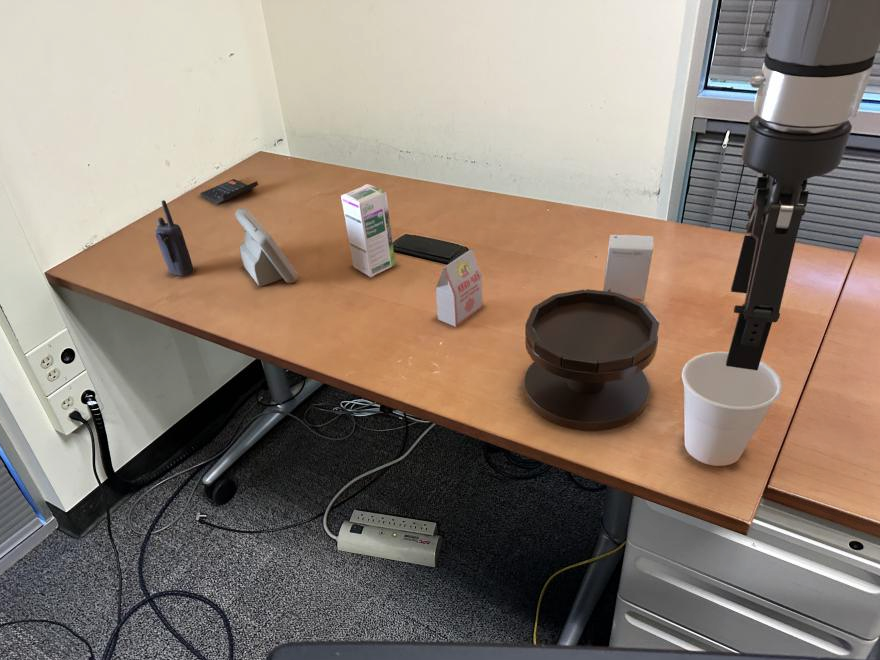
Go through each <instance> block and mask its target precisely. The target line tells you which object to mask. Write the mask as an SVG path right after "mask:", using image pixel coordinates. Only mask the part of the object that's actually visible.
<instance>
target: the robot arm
mask: <svg viewBox="0 0 880 660" xmlns="http://www.w3.org/2000/svg"><path fill="white" fill-rule="evenodd" d="M879 47H880V0H777V1H776V5H775V11H774V15H773V20H772V24H771V28H770V34H769V38H768V43H767V47H766V51H765V55H764V59H763V65H762V69H761V70H762V74H758V75H753V76H752V77H751V80H750V83H749V86H751V88H754V89H757V91H756V95H755V100H754V104H753V113H754V114H755V115H754V116H753V117H752V118H751V119H749V122H748V126H747V131H746V135H745V140H744V144H743V148H742V152H741V159H742V162H743V164H744V165H745V166H746V167H748V169H750V170H752V171H753V172H756V173H758V174H760V175H757V177H756V180H755V185H754V189H753V190H754V191H753V198H752V202H751V205H750V208H749V210H748V211H747V214H746V216H747V219H748V222H747V224H746V226H745V230H746V234H745V235H744V237H743V241H742V245H741V248H740V252H739V256H738V261H737V264H736V268H735V272H734V276H733V280H732V284H731V288H730V292H731V293H739V294H745V299H744V303H743V304H742V305H741V304H740V305H739V304H738V305H737V304H736V305H735V306H734V307H733V313H734V314H738V316H737V320H736V324H735V327H734V330H733V335H732V339H731V343H730V346H729V350H728V352H729V353H728V357H727V361H726V366H729V367H736V368H743V369H750V370H758V367H759V364H760V361H761V360H762V357H763V353H764V351H765V347H766V345H767V341H768V338H769V334H770V331H771V328H772V324H773V323H778V321H779V319H780V317H781V316H780V315H781V313H780V310H781V307H782V301H783V298H784V293H785V289H786V284H787V280H788V275H789V272H790V268H791V263H792V258H793V253H794V250H795V245H796V242H797V236H798V234H799V230H800V225H801V222H802V219H803V216H805V215H806V214H805V213H806V207H807V205H808V199H809V194H810V191H809V190H806V188H807V185H808V179H811V178H815V177H822V176H824V175H827V174H829V173H831V172H833V171H835V170H836V169H837V168H838V167H839V165H840V164H841V162H842V159H843V156H844V153H845V150H846V148H847V144H848V141H849V138H850V135H851V132H852V128H853V126H852V123H851V122H850V121H851V120H852V119H854V118H855V117H857V115H858V112H859V110H860V106H861V103H862V101H863V97H864V94H865V91H866V88H867V85H868V83H869V79H870V77H871V73H872V71H873V67H874V61H875V57H876V55H877V53H878V50H879ZM747 234H750V235H747Z"/></svg>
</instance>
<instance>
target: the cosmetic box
mask: <svg viewBox="0 0 880 660" xmlns="http://www.w3.org/2000/svg"><path fill="white" fill-rule="evenodd" d="M654 238H655V237H654V236H653V235H637V234H610V235H609V240H608V241H609V242H608V249H607V259H606V265H605V266H606V267H605V274H604V283H603V290H602V291H607V292H617V294H618V293H620V294H622V295H624V296H627V297H629V298H631V299H634V300H636V301H638V302H640V303H643V304H644V305H645V300H646V293H647V292H646V291H647V287H648V281H649V277H650V276H649V275H650V270H651V264H652V259H653V258H652V257H653V251H654V242H655V241H654V240H655V239H654Z"/></svg>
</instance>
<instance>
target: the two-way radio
mask: <svg viewBox="0 0 880 660" xmlns="http://www.w3.org/2000/svg"><path fill="white" fill-rule="evenodd" d="M160 202H161V205H162V206H161V207H162V209H163V212H164V215H165V219H166V222H165V219H164V218H163V217H158V218H157V226H156V227H155V229H154V234H155V238H156V241H157V245H158V247H159V250H160V252H161V255H162V257H163V259H164V260H163V261H164V262H165V265H166V267H167V270H168V272H169V274H170V275H172V276H173V275H174V276H180V277H181V276H182V277H184V276H188V275H191V274H192V273H193V272H194V270H195V269H194V266H193V262H192V258H191V256H190V252H189V249H188V247H187V242H186V240H185V237H184V234H183V231H182V228H181V226H180V225H179V224H176V223H174V220H173V217H172V215H171V212H170V210H169V207H168V204H167V202H166V200H165V199H162V200H161V201H160Z"/></svg>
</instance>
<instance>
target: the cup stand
mask: <svg viewBox="0 0 880 660" xmlns="http://www.w3.org/2000/svg"><path fill="white" fill-rule="evenodd" d="M524 326H525V328H524V335H525V337H524V339H525V341H524V342H525V343H524V344H525V350H526V352H527V354H528V355H529V357H530V359H531V360H532V361H533V362H532V363H531V364H530V366H529V367H528V368H527V370H526V371H525V376H524V382H523V383H524V384H523V390H524V397H525V399H526V401H527V403H528V405H529V406H530V408H531V409H532V410H533V411H534V412H535V413H536V414H537V415H539V416H540V417H541V418H543V419H544V420H546V421H548V422H549V423H552V424H554V425H557V426H560V427H563V428H565V429H569V430H570V429H571V430H574V431H575V430H576V431H581V432H582V431H583V432H600V431H601V432H602V431H607V430H612V429H616V428H619V427H623V426H625V425H627V424H629V423H631V422H633V421H634V420H635V419H637V418H638V417H639V416H640V415H641V414H642V413H643V411H644V410H645V408H646V406H647V404H648V401H649V395H650V381H649V379H648V376H647V374H646V373H645V371H644V370H645V369H646V368H647V367H648V366H649V365H650V364H651V362H653V360H654V358H655V356H656V354H657V350H658V344H659V335H658V333H659V328H660V321H659V320H658V319H657V317H656V316H655V315H654V314H653V312H652V311H651V310H650V309H649V307H648V306H647V305H646V304H645V303H644V304H643V303H640V302H638V301H636V300H634V299H631V298H629V297H627V296H624V295H622V294H620V293H618V294H617V292H607V291H603V290H597V289H589V288H588V289H587V288H586V289H578V290H573V291H567V292H560V293H555V294H553V295H551V296H549V297H548V298H546V299H544V300H543V301H540V302H539V303H538V304H536V305H534V306H533V307H532V308H531V311H530V313H529V315H528V318H527V321H526V323H525V324H524Z"/></svg>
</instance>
